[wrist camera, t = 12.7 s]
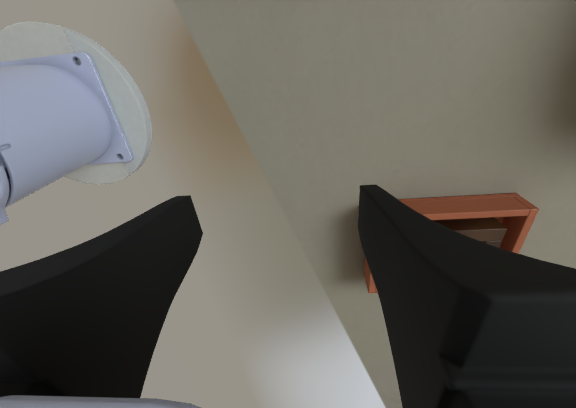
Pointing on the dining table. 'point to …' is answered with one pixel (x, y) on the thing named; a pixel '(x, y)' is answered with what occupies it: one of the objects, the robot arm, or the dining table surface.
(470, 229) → the frame
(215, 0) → the dining table surface
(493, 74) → the dining table surface
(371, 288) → the holder
